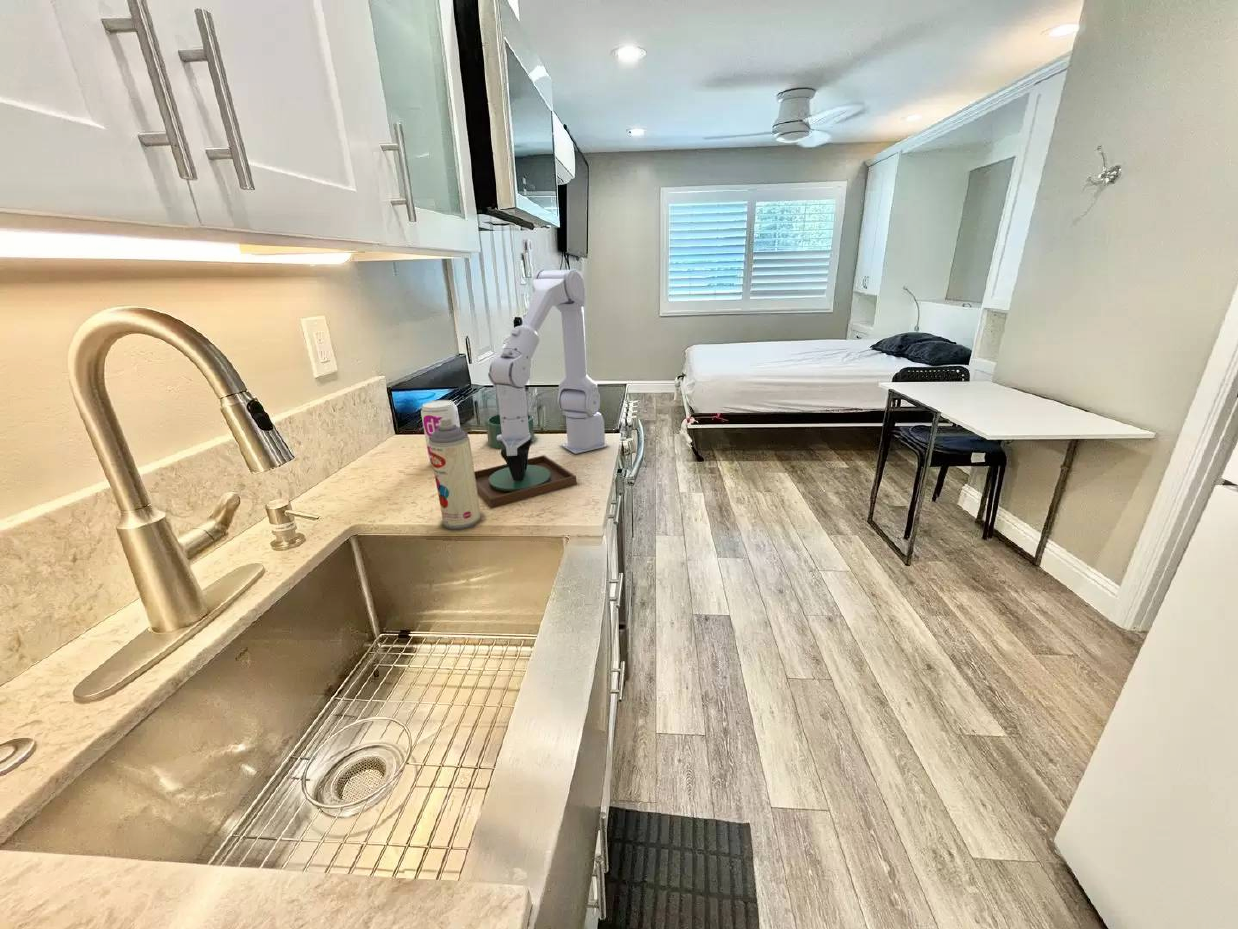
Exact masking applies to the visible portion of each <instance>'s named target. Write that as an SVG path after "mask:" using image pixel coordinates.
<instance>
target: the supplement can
mask: <svg viewBox="0 0 1238 929" xmlns="http://www.w3.org/2000/svg"><path fill="white" fill-rule="evenodd" d="M458 411H459V410H458V406H457V405H456V403H455V402H454V401H453V400H451V399H450V400H449V399H439V400H438V399H437V400H432V401H428V402H425V403H423V404H422V408H421V410H420V415H421V421H422V427H423V431H424V432H423V433H424V437H425V443H426V449H427V453H428V460H429V464H430V465H431V466H433V463H432V458H431V452H430V447H429V441H430V440H429V437H430V436H431V435H432V434H433V433H434V431H435V430H436V429H438V427H439V426H440V425H441V419H442V418H446V417H449V418H451V421H452V423H454V424H455V425H456V426H457V427H460V428H461V424H460V417H459V412H458Z"/></svg>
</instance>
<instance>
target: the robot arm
mask: <svg viewBox="0 0 1238 929" xmlns="http://www.w3.org/2000/svg"><path fill="white" fill-rule="evenodd" d="M531 287H532V293H533V295H532V297H531V300H530V301H529V302H530V303H529V305H528V308H527V310H526V313H525V316H524V317H523V318H524V319H523V321H522V324H521V325H517V326H515V327H513V328H512V330H511V332H510V336H509V338H508V340H507V342H506V343H505V346H504V348H503V350H502V352H501V354H500V356H498V357H497V358H494V360H493V361H491V363H490V365H489V369H488V370H489V371H488V373H487V376H488V380H489V381H490V383H491V384H492V386H493V391H494V392H495V394H496V398H497V403H498V404H497V405H498V414H500V422H501V430H502V435H498V436H497V440H501V441H503V443H504V445H505V446H506V449H501V450H500V455H501V457H502V459H503V460H504V461H505V464H507V465H508V467H509V470H510V472H511V475H512V478H513V480H514V481H519V480H523V479H524V472H525V471H526V469H527V463H528V459H529V451H530V448H531V447H530V446H531V445H532V443H531V442H532V437H531V435H530V433H529V425H528V414H529V413H528V406H527V396H526V385H527V384H528V381H529V380H530V377H531V365H532V362H531V360H532V358H533V356H534V354H535V351H536V349H537V347H538V345H539V343H540V337H539V334H538V332H539V330H540V328H541V327H542V325H543V323H544V321H545V320H546V318H547V316H548V314H549V313H550V311H551V309H552V308H553V307H555V308H556V309H557V310H558V311H559V312H560V313H561V327H562V342H563V356H564V368H565V378H564V379H563V380H562V381H561V382H560V383H559V384H558V393H557V399H556V400H557V403H556V404H557V406H558V408H559V411H561V412H562V415H563V416H564V417H565V424H566V425H565V426H566V440H567V441H566V443H565V442H564V443H561V447H562V448H564V449H566V450H568V451H570V452H571V453H572V454H575V455H577V454H582V453H586V452H590V451H594V450H598V449H603V448H606V447H607V444H606V433H605V420H604V417H603V415H602V413H600V411H599V410H600V407H601V396H600V393H599V389H598V384H597V383H596V382H595V381H594V380H593V379H592V378H590V377H589V376H588V368H587V366H588V365H587V351H586V331H585V329H586V328H585V312H584V307H585V306H586V288H585V287H586V286H585V278H584V276H583V275H582V274H581V272H579V271H578V270H577V269H576V268H571V269H548V270H547V269H539V270H538V271H536V273H535V275H534V279H533V281H532V282H531ZM527 413H528V414H527Z"/></svg>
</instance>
